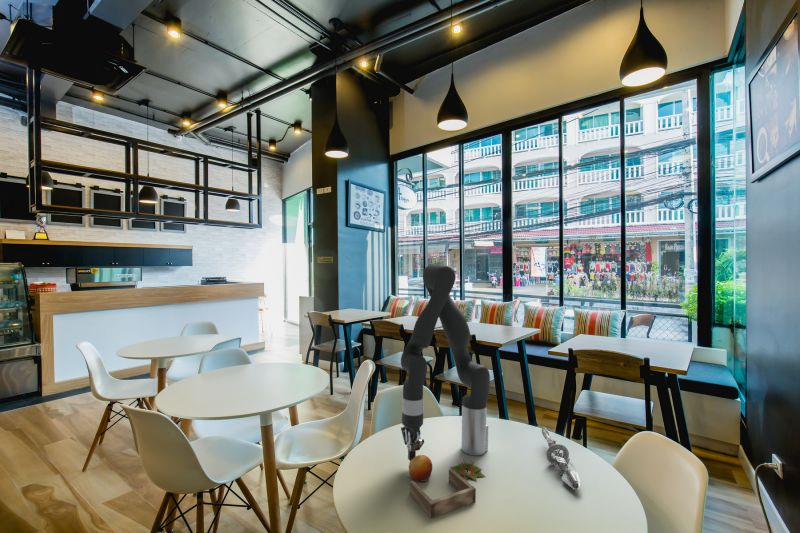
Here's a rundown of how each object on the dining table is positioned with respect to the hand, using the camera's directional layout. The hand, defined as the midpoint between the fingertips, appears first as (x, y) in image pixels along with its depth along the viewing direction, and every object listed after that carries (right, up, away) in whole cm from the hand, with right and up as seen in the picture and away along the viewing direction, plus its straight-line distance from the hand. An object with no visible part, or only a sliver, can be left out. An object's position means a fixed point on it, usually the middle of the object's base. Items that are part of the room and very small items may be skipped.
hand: (411, 459), depth 129 cm
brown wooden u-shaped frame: (+9, -3, -16) cm, 19 cm away
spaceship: (+52, -4, +4) cm, 53 cm away
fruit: (+3, -3, -5) cm, 7 cm away
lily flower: (+19, -4, -2) cm, 20 cm away
